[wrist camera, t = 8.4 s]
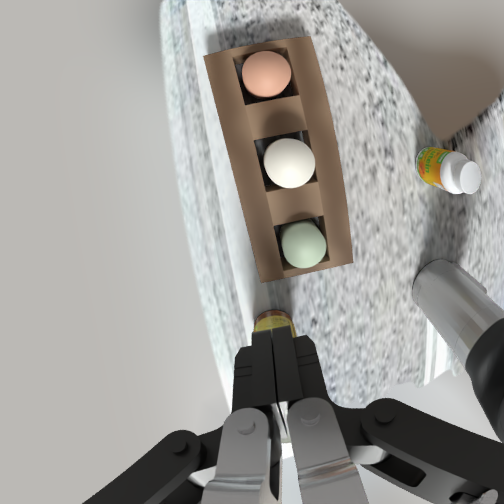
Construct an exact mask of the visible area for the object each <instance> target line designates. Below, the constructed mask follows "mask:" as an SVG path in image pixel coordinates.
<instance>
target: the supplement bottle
mask: <svg viewBox="0 0 504 504" xmlns="http://www.w3.org/2000/svg"><path fill="white" fill-rule="evenodd" d="M416 171H417V174H418V176H419V177H420V179H421V180H423V181H424V182H426V183H428V184H430V185H433V186H435V187H438V188H440V189H443V190H445V191H448V192H450V193H453V194H461V193H463V192H464V193H467V194H473V193H475V192H476V191H477V190H478V189H479V187H480V184H481V179H482V176H481V170H480V168H479V166H478V164H477V163H475V162H474V161H470V160H468V158H467V157H466V156H465V155H464V154H462V153H459V152H456V151H451V150H445V149H440V148H435V147H426V148H424V149H422V150H421V151H420V152H419V154H418V155H417V158H416Z"/></svg>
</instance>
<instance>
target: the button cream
mask: <svg viewBox="0 0 504 504" xmlns="http://www.w3.org/2000/svg"><path fill="white" fill-rule="evenodd" d="M263 163H264V167H265V169H266V171H267V174H268V176H269V177H270V178H271V180H272V181H273V182H274V183H276V184H277V185H279V186H282V187H285V188H296V187H299V186H302V185H303V184H305V183H306V182H307V181H308V180H309V179H310V178H311V176H312V175H313V172H314V169H315V158H314V155H313V153H312V151H311V149H310V148H309V147H308V146H307V145H306V144H304V143H303V142H301V141H299V140H295V139H287V138H282V139H277V140H275V141H273V142H272V143H270V144H269V145H268V147H267V148H266V150H265V152H264V156H263Z"/></svg>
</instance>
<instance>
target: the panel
mask: <svg viewBox="0 0 504 504" xmlns="http://www.w3.org/2000/svg"><path fill="white" fill-rule="evenodd" d="M261 51H271V52H275V53H277V54H279V55H281V56H283V57H284V58H285V59H286V61H287V62H288V64H289V66H290V68H291V78H290V85H291V89H292V93H293V96H292V97H286V98H280V99H275V100H269V101H264V102H259V103H255V104H250V105H246V106H245V104H244V100H243V96H242V92H241V88H240V84H239V80H238V77H237V73H236V69H235V65H236V64H241V63H245V61H246V60H247V59H248V58H249V57H250V56H251V55H253V54H255V53H257V52H261ZM203 57H204V61H205V65H206V69H207V73H208V77H209V81H210V85H211V89H212V92H213V96H214V100H215V104H216V108H217V112H218V116H219V120H220V124H221V128H222V131H223V135H224V139H225V143H226V147H227V151H228V155H229V159H230V163H231V167H232V171H233V175H234V178H235V182H236V186H237V190H238V194H239V198H240V202H241V206H242V210H243V214H244V218H245V222H246V226H247V230H248V233H249V237H250V241H251V245H252V249H253V253H254V257H255V261H256V265H257V269H258V273H259V277H260V281H261V283H264V282H269V281H274V280H278V279H283V278H288V277H292V276H297V275H302V274H306V273H311V272H315V271H319V270H324V269H328V268H333V267H337V266H341V265H345V264H350V263H353V255H352V244H351V234H350V225H349V217H348V209H347V201H346V194H345V187H344V181H343V174H342V168H341V162H340V157H339V151H338V146H337V140H336V135H335V130H334V125H333V121H332V116H331V112H330V107H329V103H328V99H327V94H326V90H325V86H324V82H323V78H322V75H321V71H320V67H319V64H318V60H317V56H316V53H315V50H314V46H313V43H312V40H311V36H308V37H298V38H290V39H282V40H275V41H269V42H263V43H257V44H252V45H247V46H242V47H238V48H233V49H229V50H224V51H220V52H216V53H213V54H209V55H205V56H203ZM297 131H302V135H303V140H304V144H306V145H307V146H308V147H309V148H310V149H311V151H312V153H313V155H314V158H315V169H314V172H313V175H312V176H311V178H310V179H309V180H308V181H307V182H306V183H305V184H303V185H302V186H299V187H296V188H285V187H282V186H279V185H277V184H272V185H268V186H264V182H263V178H262V173H261V169H260V165H259V161H258V156H257V152H256V148H255V144H254V140H257V139H262V138H267V137H271V136H276V135H281V134H286V133H292V132H297ZM317 216H318V219H319V226H320V232H321V234H322V235H323V237H324V239H325V241H326V252H325V255H324V257H323V258H322V259H321V261H320V262H319V263H317V264H316V265H314V266H312V267H309V268H298V267H295V266H293V265H291V264H290V263H289V262H288V261H287V259H286V258H285V257H282V258H280V254H279V249H278V244H277V240H276V235H275V231H274V226H275V225H280V224H284V223H289V222H294V221H298V220H303V219H308V218H312V217H317Z"/></svg>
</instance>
